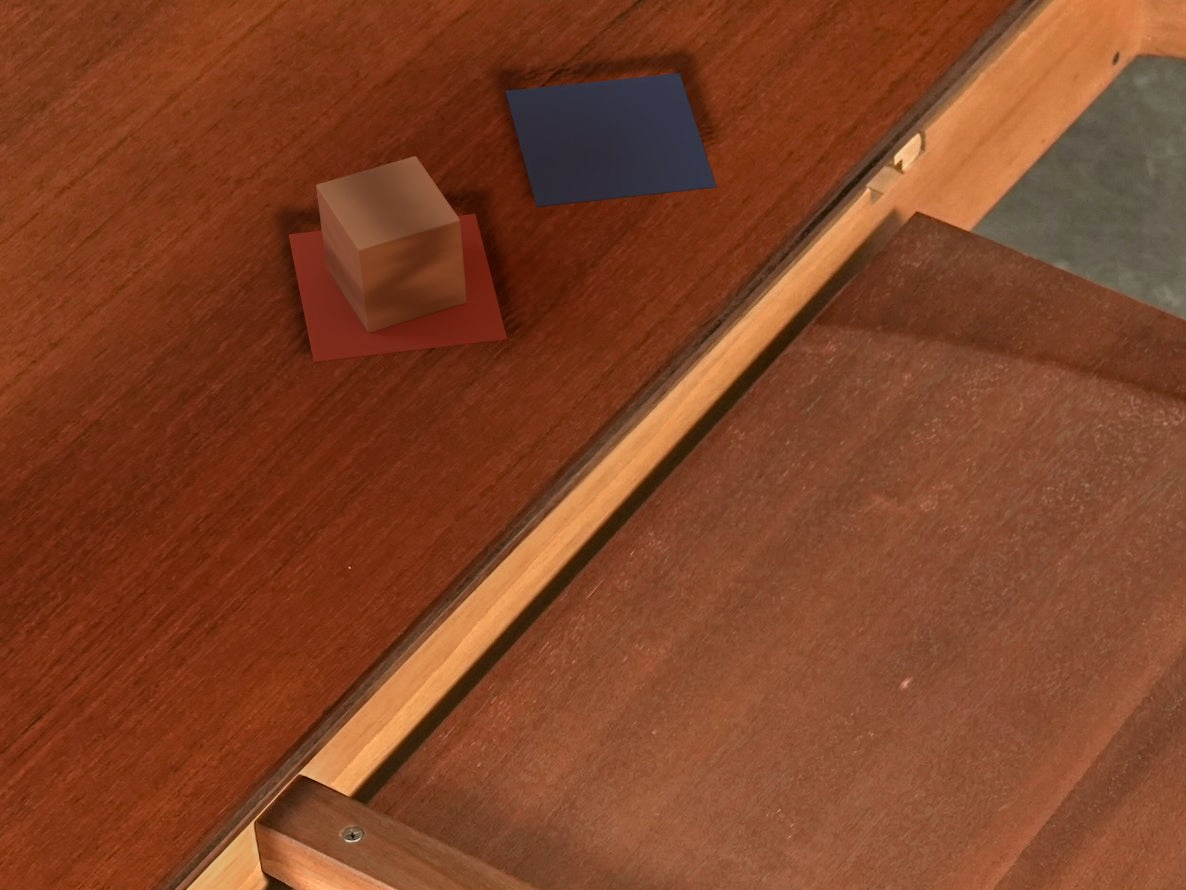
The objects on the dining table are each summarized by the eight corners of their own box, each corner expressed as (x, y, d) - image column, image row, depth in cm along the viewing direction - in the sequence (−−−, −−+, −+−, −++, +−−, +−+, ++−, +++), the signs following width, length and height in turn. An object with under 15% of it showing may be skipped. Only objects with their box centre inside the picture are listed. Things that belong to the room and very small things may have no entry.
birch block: (368, 333, 134) (358, 250, 130) (326, 268, 137) (315, 184, 132) (467, 303, 136) (460, 219, 132) (423, 238, 138) (415, 155, 134)
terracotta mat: (315, 371, 133) (313, 361, 133) (289, 243, 138) (288, 233, 138) (507, 348, 135) (507, 338, 135) (476, 222, 140) (475, 213, 140)
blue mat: (537, 216, 141) (536, 206, 140) (505, 100, 146) (505, 90, 145) (717, 196, 143) (717, 186, 142) (680, 82, 148) (680, 72, 147)
